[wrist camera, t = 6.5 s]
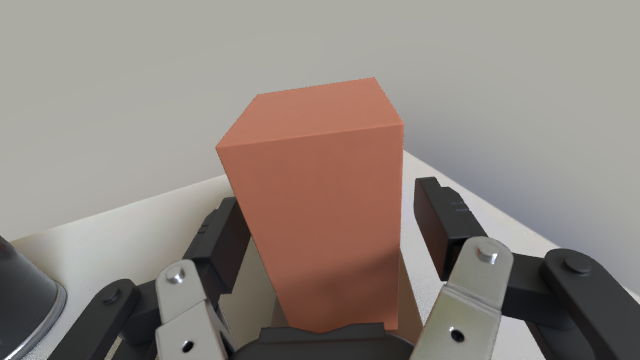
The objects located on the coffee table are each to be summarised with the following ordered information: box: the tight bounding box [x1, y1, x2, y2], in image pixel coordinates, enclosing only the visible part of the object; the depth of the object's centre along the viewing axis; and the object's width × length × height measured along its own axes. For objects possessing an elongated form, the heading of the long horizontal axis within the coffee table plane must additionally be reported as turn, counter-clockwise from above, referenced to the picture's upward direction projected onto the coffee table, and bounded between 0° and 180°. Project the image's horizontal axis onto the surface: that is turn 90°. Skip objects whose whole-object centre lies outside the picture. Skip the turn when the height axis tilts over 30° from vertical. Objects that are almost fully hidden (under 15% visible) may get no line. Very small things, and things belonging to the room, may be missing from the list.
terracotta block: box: [216, 77, 404, 333], centre depth 12 cm, size 5×5×11 cm
